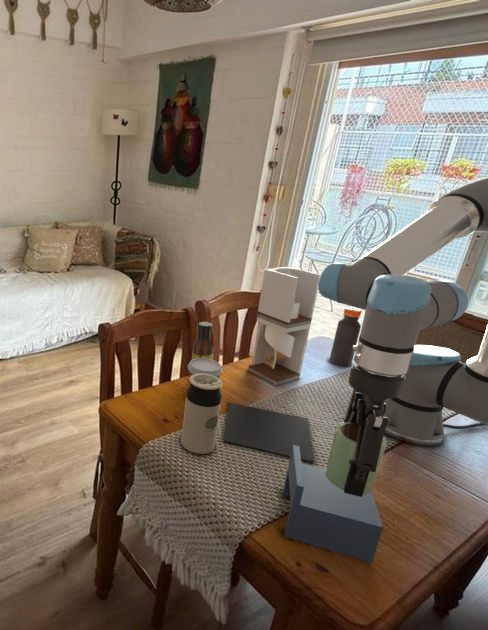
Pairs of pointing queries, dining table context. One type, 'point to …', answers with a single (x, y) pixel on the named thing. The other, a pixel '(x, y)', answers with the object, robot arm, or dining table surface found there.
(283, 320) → the white dispenser tower
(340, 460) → the cup
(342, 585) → the dining table surface
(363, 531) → the blue l-shaped block
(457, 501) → the dining table surface
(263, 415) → the mat
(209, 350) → the sauce bottle
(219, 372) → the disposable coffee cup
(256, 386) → the dining table surface
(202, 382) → the travel mug
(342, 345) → the vinegar
